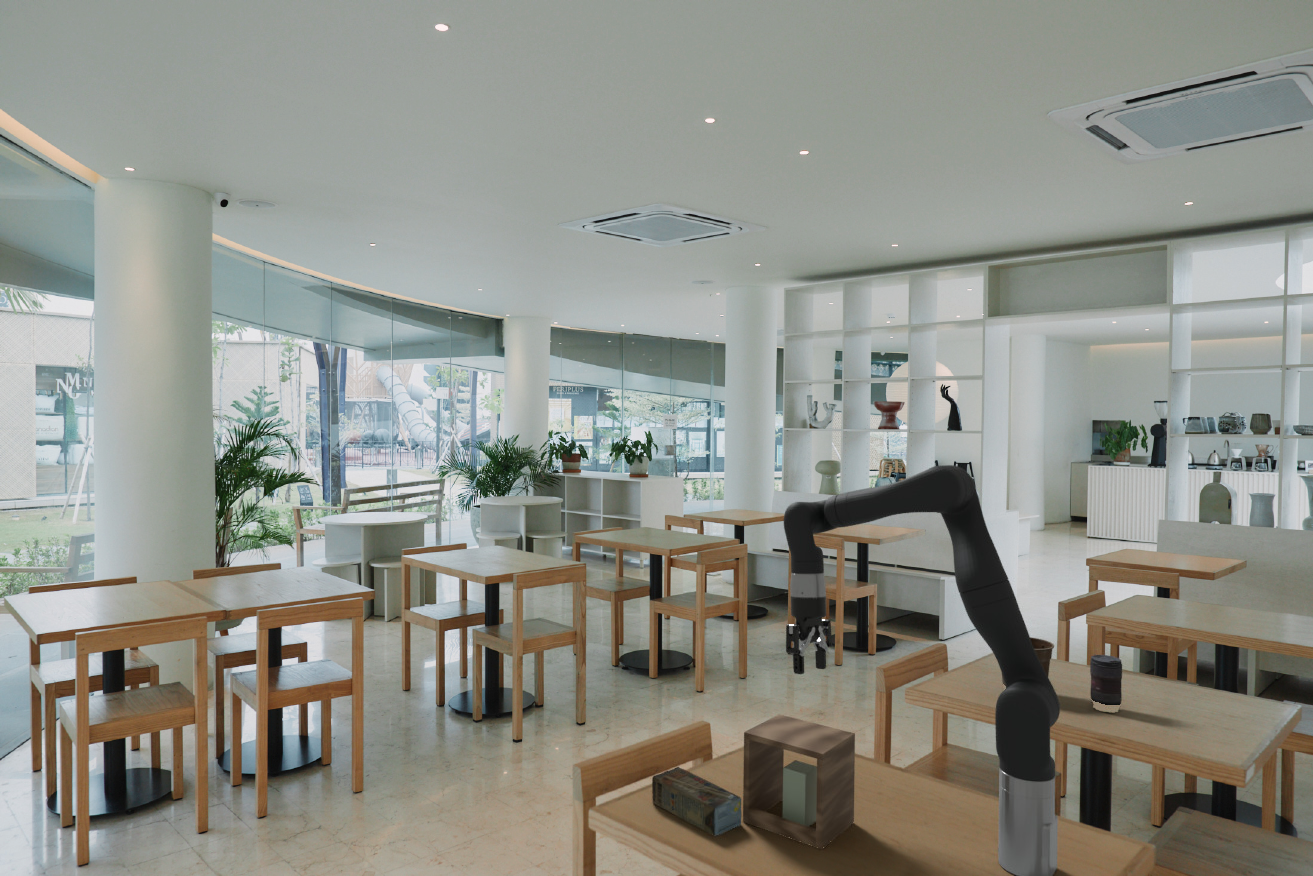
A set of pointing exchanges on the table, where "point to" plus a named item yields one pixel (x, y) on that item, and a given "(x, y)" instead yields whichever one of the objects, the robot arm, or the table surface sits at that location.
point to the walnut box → (767, 777)
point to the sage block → (800, 792)
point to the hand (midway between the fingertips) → (810, 671)
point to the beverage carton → (696, 801)
